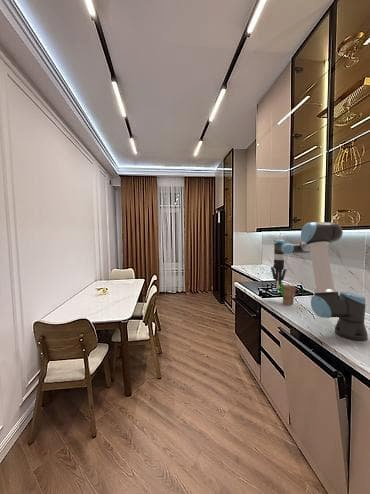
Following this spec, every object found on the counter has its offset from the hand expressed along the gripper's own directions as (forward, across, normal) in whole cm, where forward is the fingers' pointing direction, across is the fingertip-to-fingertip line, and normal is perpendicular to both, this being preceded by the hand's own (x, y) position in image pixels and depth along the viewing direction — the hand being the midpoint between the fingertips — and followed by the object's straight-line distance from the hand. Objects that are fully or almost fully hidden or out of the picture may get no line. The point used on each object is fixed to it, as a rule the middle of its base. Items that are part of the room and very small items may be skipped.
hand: (278, 288), depth 192 cm
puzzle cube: (+11, +4, -24) cm, 27 cm away
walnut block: (+11, -8, 0) cm, 14 cm away
